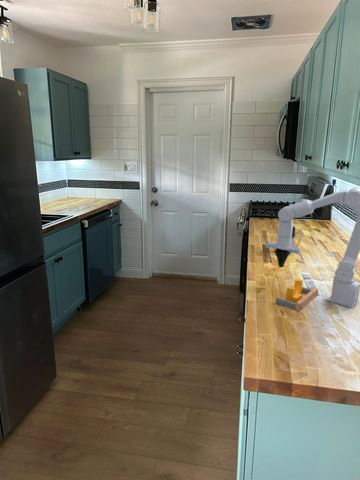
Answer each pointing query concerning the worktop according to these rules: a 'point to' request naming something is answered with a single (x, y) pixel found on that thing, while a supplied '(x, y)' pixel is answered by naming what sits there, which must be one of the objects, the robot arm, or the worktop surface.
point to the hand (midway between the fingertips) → (281, 266)
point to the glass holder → (294, 238)
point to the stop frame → (303, 301)
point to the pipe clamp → (294, 291)
